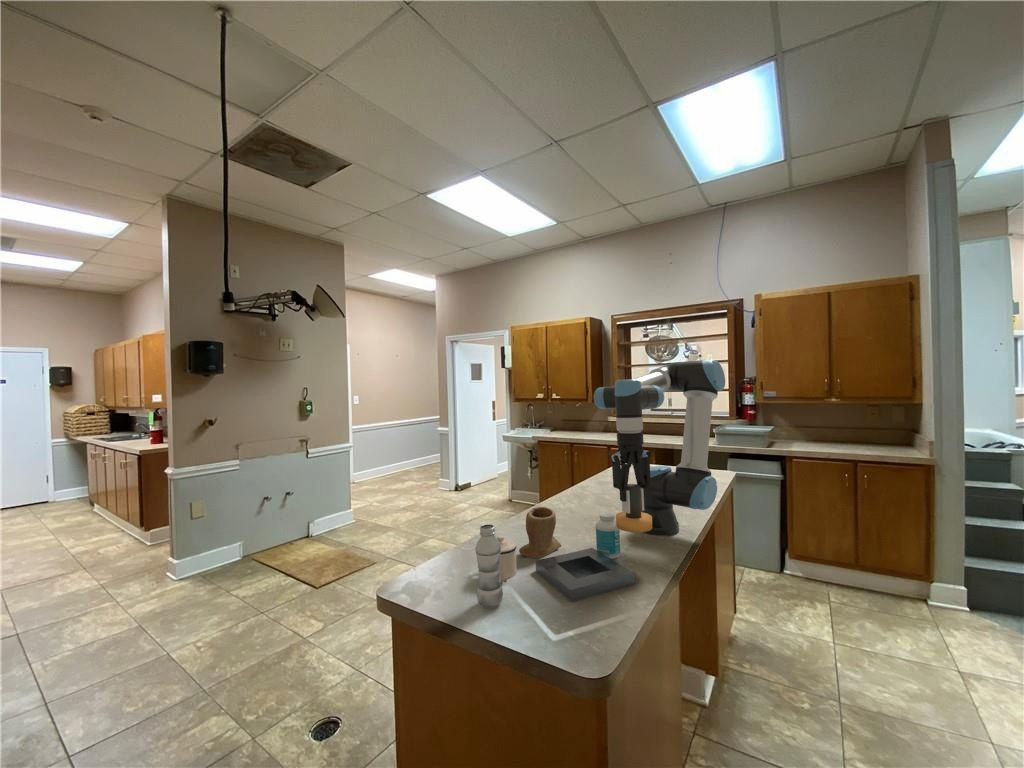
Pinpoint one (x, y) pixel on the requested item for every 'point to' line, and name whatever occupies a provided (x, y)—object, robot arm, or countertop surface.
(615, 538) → the pill bottle
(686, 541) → the countertop surface
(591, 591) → the grey square socket block
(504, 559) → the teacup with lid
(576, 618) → the countertop surface
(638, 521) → the peg on round base
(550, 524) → the stone cup
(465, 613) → the countertop surface
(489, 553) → the plastic bottle
